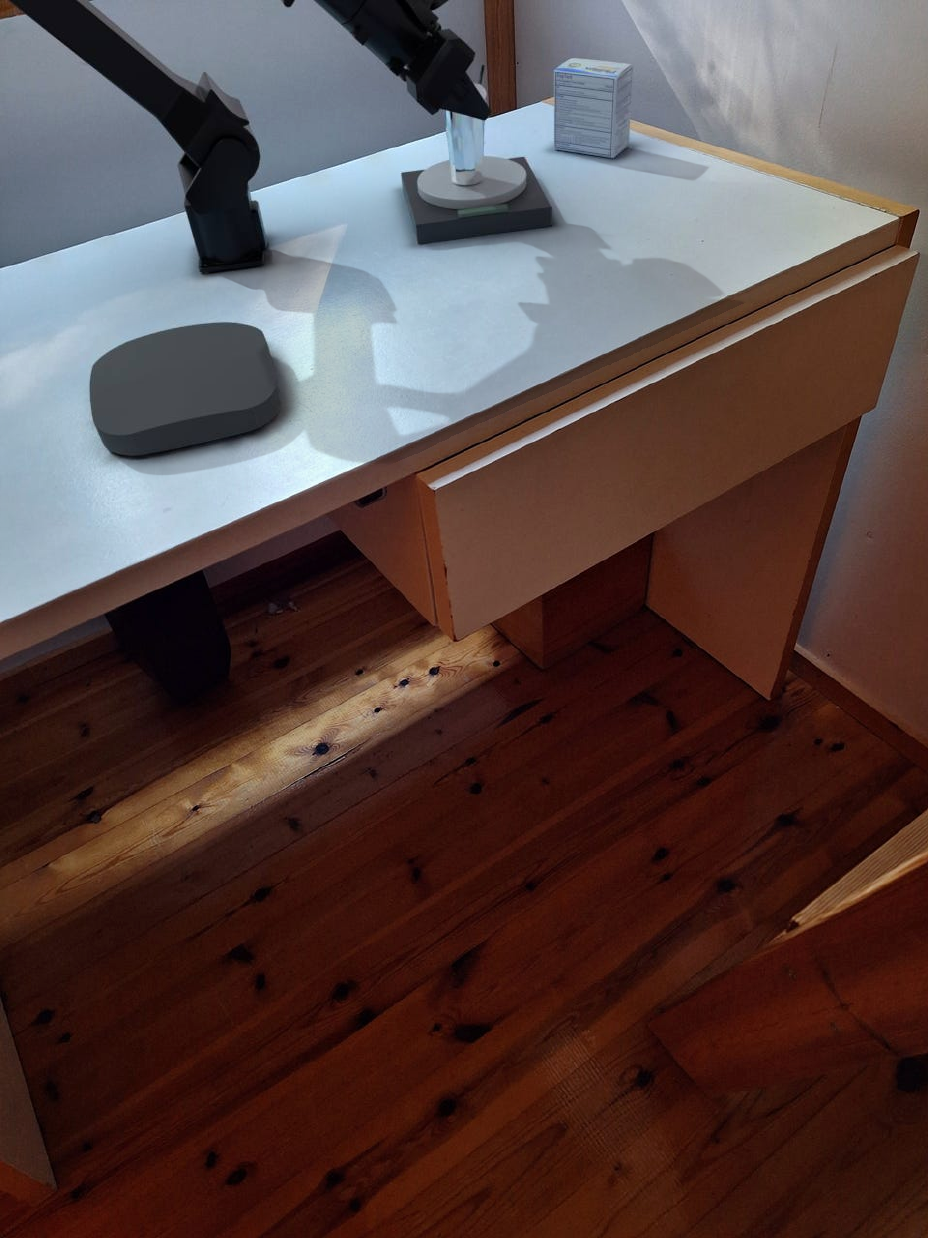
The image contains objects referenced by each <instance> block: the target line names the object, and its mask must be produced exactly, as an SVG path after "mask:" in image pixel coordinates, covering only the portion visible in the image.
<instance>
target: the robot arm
mask: <svg viewBox="0 0 928 1238" xmlns="http://www.w3.org/2000/svg"><path fill="white" fill-rule="evenodd" d="M7 1H8V2H9V3H11V5H13V6H14V7H15V8H17V9H18V10H19V11H21V12H22V13H23V14H24V15H25V16H27V17H28V18H29V19H31V20H32V21H33V22H34V23H36V24H37V25H38V26H40V27H41V28H42V30H44V31H46V32H47V33H48V34H50V35H51V36H52V37H53V38H55V39H56V40H57V41H58V42H59V43H60V44H62V45H64V46H65V47H66V48H67V49H68V50H69V51H71V52H72V53H74V54H75V55H76V56H77V57H79V59H81V60H82V61H84V62H85V63H86V64H87V65H89V66H90V67H92V69H94V70H95V71H96V72H97V73H99V74H100V75H101V76H102V77H104V78H105V79H106V80H108V81H109V82H110V83H111V84H113V85H114V86H115V87H116V88H118V89H119V90H120V91H121V92H123V93H124V94H125V95H127V96H128V97H129V98H130V99H132V100H133V101H134V102H135V103H137V104H138V105H139V106H140V107H142V108H143V109H144V110H146V111H147V112H148V113H149V114H150V115H152V116H153V117H154V118H155V119H156V120H157V121H158V122H159V123H160V124H161V125H162V126H163V128H164V129H165V130H166V132H167V133H168V134H169V135H170V137H171V138H172V139H173V140H174V141H175V143H176V144H177V145H178V146H179V148H180V149H181V150H182V152H183V154H182V156H181V157H180V159H179V160H178V162H177V169H178V173H179V177H180V180H181V181H180V182H181V185H182V188H183V192H184V202H183V206H184V207H183V208H184V210H185V214H186V217H187V220H188V221H187V222H188V225H189V228H190V231H191V234H192V238H193V241H194V245H195V249H196V252H197V256H198V265H197V267H198V268H197V269H198V272H199V273H202V274H204V273H211V272H219V271H227V270H233V269H234V270H235V269H241V268H242V269H243V268H248V267H256V266H261V265H263V264H264V263H265V262H264V260H265V258H264V257H265V256H264V254H265V253H264V252H266V251H267V249H268V239H267V235H266V230H265V226H264V221H263V216H262V213H261V208H260V203H259V201H258V200H256V199H255V200H254V199H253V198H252V195H251V189H250V186H249V182H250V181H251V179H253V178H254V177H255V176H256V174H257V171H258V170H259V168H260V163H261V152H260V146H259V143H258V141H257V139H256V136H255V134H254V132H253V130H252V127H251V125H250V120H249V117H248V116H247V113H246V111H245V109H244V107H243V105H242V103H241V100H240V99H239V98H236V97H233V96H230V95H229V94H227V93H226V92H224V91H223V90H222V89H221V87H220V86H218V84H217V83H216V82H215V81H214V80H213V78H212V77H211V76H210V75H209V74H208V73H207V72H206V71H203V72H202V74H201V76H200V79H199V81H198V82H197V83H195V82H192V81H190V80H188V79H187V78H185V77H182V76H181V75H178V74H177V73H175V72H173V71H172V70H171V69H170V68H168V66H166V65H165V64H164V63H163V62H162V61H161V60H159V59H158V58H157V57H156V56H154V55H153V54H152V53H151V52H150V51H148V50H147V49H146V48H145V47H144V46H143V45H142V44H141V43H139V42H138V41H137V40H136V39H134V38H133V37H132V36H131V35H130V34H128V33H127V31H125V30H124V29H122V28H121V27H120V26H119V25H118V24H116V22H114V21H113V20H112V19H110V17H108V16H107V15H106V14H105V13H103V12H102V11H101V10H100V9H99V8H97V7H96V6H95V5H94V4H93V3H92V2H90V1H89V0H7ZM449 1H450V0H313V2H315V3H316V4H317V5H318V6H319V7H320V8H322V10H323V11H325V12H326V13H327V14H328V15H329V16H330V17H331V18H333V19H334V20H335V21H336V22H337V23H338V24H340V25H341V26H342V27H343V28H344V29H345V30H346V31H347V32H348V33H349V34H350V35H351V36H352V38H354V40H356V41H357V42H358V43H359V44H360V45H361V46H363V47H365V48H366V49H368V50H369V52H371V53H372V54H373V55H374V56H375V57H376V58H377V59H378V60H379V61H380V62H382V63H383V64H384V66H386V67H387V69H388V70H389V71H390V72H391V73H392V74H394V75H395V76H396V77H397V78H398V77H399V78H400V79H401V80H402V81H403V82H404V83H406V91H407V92H408V94H409V95H410V96H411V97H412V98H413V99H414V100H415V101H416V103H418V105H420V107H422V108H423V109H424V110H425V111H426V112H427V113H429V114H430V115H431V116H434V115H435V114H437V113H439V111H440V110H442V111H443V110H446V111H450V112H454V113H458V114H462V115H465V116H469V117H472V118H476V119H480V120H483V121H485V122H486V121H487V120H488V118H489V117H490V116H491V114H492V109H491V108H490V106H489V105H488V103H487V101H486V102H485V100H484V99H483V97H482V96H481V94H480V93H479V91H478V89H477V88H476V86H475V85H474V83H475V82H474V81H472V79H471V77H470V76H469V74H468V72H467V71H468V69H469V68H470V67H471V65H472V63H473V62H474V60H475V57H476V51H474V49H472V48H471V46H470V45H468V44H467V43H466V42H465V41H464V40H463V38H462V37H460V36H459V35H458V34H457V33H456V32H454V31H453V30H452V29H451V28H444V29H442V25H441V23H440V22H438V20H439V19H440V17H438V15H436V13H434V12H433V11H436V10H437V9H440V7H442V6H443V5H445V4H446V3H448V2H449ZM280 2H281V3H282V4H283V5H284V6H285V8H292V6H293V5H294V3H295V2H296V0H280Z"/></svg>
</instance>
